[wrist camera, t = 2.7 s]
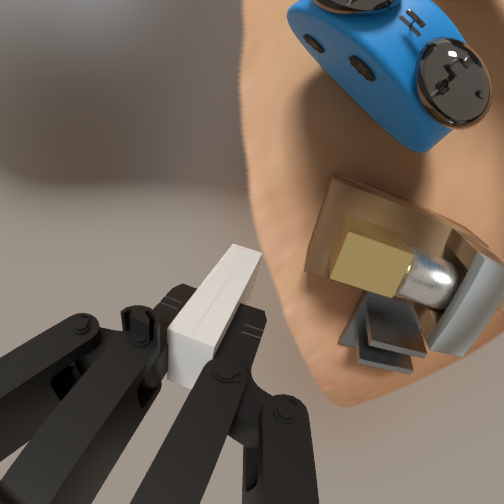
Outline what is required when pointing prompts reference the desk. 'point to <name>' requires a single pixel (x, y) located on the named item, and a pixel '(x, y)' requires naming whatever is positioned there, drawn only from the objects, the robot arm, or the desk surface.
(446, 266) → the axle
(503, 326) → the desk surface
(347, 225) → the tan rectangular block
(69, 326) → the robot arm
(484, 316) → the beam
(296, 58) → the desk surface
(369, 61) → the alarm clock
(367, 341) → the grey slotted plate stand
